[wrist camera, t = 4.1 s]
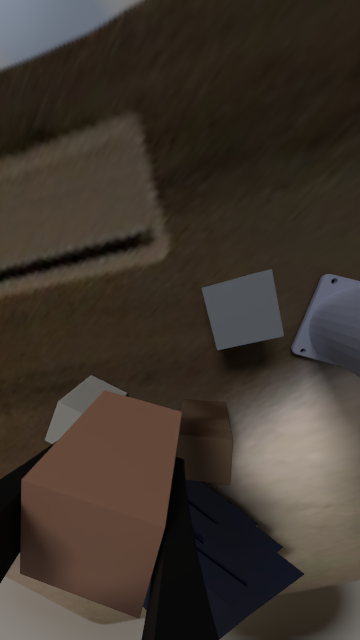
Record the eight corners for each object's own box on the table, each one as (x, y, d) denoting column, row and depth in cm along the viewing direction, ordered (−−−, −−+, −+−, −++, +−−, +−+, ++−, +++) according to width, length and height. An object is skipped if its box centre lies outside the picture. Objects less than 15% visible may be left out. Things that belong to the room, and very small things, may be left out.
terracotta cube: (181, 411, 10) (165, 527, 5) (165, 474, 11) (139, 618, 6) (104, 390, 10) (21, 479, 6) (95, 452, 12) (19, 573, 7)
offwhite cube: (127, 393, 21) (105, 425, 16) (113, 423, 22) (88, 462, 17) (91, 375, 21) (58, 401, 16) (79, 406, 22) (44, 440, 17)
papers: (200, 619, 26) (197, 670, 22) (53, 492, 30) (31, 518, 26) (303, 529, 20) (321, 578, 17) (107, 388, 24) (88, 404, 21)
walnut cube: (225, 401, 20) (233, 440, 15) (223, 438, 20) (230, 485, 16) (182, 398, 20) (176, 434, 15) (182, 434, 21) (177, 478, 16)
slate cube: (250, 274, 17) (271, 269, 12) (260, 322, 17) (284, 336, 12) (201, 288, 17) (201, 288, 13) (212, 333, 18) (217, 350, 13)
